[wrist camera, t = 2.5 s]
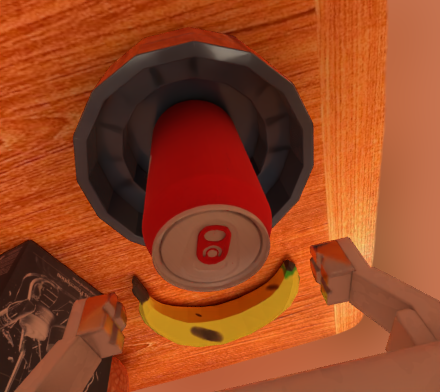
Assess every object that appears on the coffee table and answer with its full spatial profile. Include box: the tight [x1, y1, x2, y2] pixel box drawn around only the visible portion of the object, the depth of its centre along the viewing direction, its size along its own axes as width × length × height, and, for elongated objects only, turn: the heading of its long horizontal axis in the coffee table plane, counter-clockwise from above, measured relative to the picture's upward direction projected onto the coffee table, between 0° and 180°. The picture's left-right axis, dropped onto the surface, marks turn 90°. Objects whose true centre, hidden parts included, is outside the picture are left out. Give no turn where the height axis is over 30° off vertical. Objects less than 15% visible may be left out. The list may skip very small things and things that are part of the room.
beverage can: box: [142, 100, 272, 292], centre depth 18 cm, size 6×6×12 cm
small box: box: [0, 240, 112, 392], centre depth 26 cm, size 13×7×12 cm, turn 26°
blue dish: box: [73, 27, 314, 246], centre depth 21 cm, size 14×14×6 cm
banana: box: [132, 260, 300, 347], centre depth 32 cm, size 5×17×15 cm
